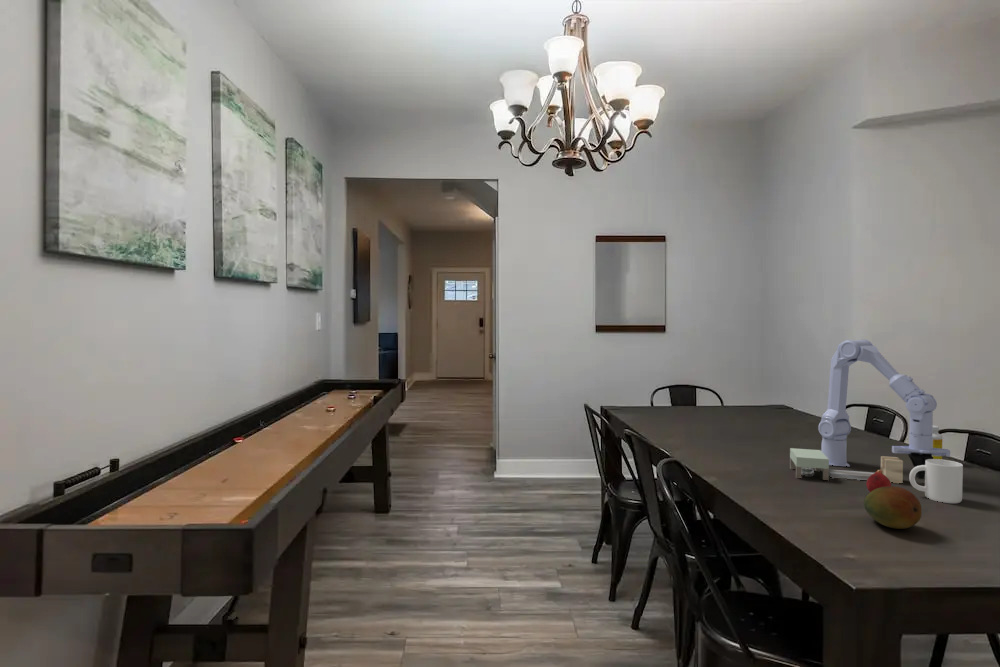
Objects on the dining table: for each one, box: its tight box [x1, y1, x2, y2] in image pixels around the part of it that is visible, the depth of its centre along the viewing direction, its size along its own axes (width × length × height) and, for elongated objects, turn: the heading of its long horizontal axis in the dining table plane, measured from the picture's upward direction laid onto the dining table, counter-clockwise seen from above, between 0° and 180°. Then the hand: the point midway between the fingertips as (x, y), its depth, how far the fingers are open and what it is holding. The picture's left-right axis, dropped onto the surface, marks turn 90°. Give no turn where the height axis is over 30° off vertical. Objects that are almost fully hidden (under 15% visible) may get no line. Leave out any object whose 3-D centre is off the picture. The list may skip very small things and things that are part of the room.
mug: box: [908, 459, 964, 504], centre depth 161 cm, size 12×8×10 cm
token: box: [801, 467, 815, 477], centre depth 186 cm, size 5×5×2 cm
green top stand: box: [789, 447, 830, 482], centre depth 185 cm, size 13×9×7 cm
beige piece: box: [829, 455, 904, 484], centre depth 180 cm, size 5×20×7 cm, turn 71°
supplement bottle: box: [932, 425, 943, 460], centre depth 200 cm, size 7×7×13 cm
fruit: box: [863, 485, 923, 530], centre depth 139 cm, size 12×12×10 cm
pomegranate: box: [865, 469, 892, 493], centre depth 161 cm, size 6×6×8 cm
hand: (920, 477), depth 176 cm, fingers closed
